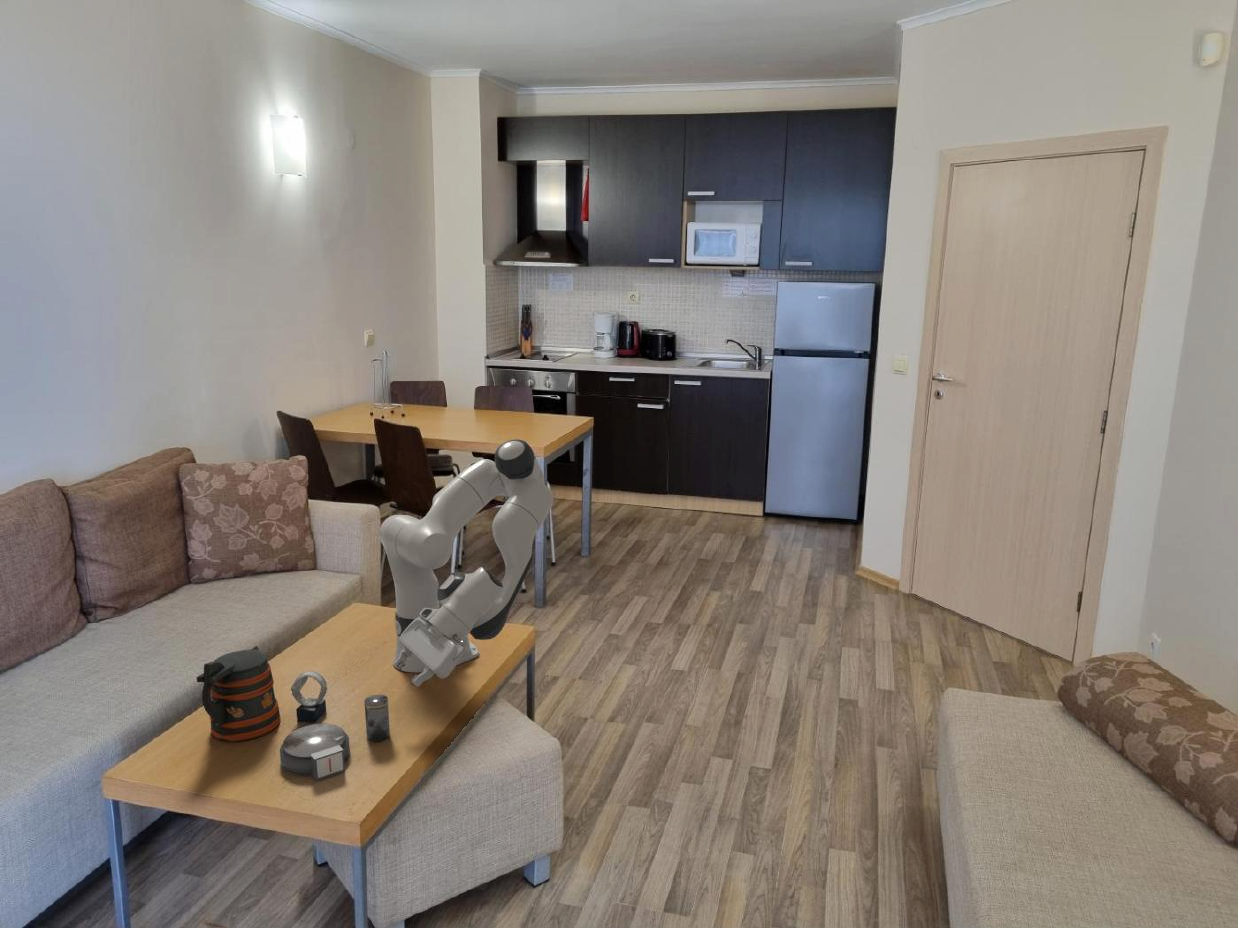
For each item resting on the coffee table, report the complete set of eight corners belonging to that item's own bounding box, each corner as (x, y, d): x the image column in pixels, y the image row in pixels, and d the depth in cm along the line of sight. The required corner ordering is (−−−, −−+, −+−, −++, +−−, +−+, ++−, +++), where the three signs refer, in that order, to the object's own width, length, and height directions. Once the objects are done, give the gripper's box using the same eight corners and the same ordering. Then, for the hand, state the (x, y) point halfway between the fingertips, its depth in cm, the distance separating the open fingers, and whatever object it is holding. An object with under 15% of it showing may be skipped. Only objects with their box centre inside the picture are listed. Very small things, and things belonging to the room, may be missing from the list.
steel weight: (384, 728, 199) (382, 692, 197) (393, 737, 196) (391, 701, 194) (363, 735, 196) (360, 698, 194) (371, 745, 192) (369, 707, 191)
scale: (336, 733, 197) (335, 713, 196) (364, 765, 185) (362, 744, 183) (272, 753, 189) (270, 732, 188) (296, 788, 176) (294, 766, 175)
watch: (301, 709, 208) (298, 666, 206) (333, 712, 207) (330, 669, 204) (289, 720, 203) (285, 677, 200) (321, 723, 201) (318, 679, 199)
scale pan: (333, 721, 196) (333, 717, 195) (354, 745, 186) (354, 741, 186) (275, 738, 188) (275, 735, 188) (294, 764, 178) (293, 761, 178)
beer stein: (245, 756, 188) (236, 671, 183) (184, 750, 190) (174, 665, 186) (292, 713, 206) (286, 634, 202) (236, 707, 209) (228, 629, 204)
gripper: (477, 652, 194) (433, 702, 190) (436, 620, 210) (396, 665, 206) (460, 637, 191) (415, 687, 187) (420, 605, 207) (378, 651, 203)
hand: (405, 675), depth 197 cm, fingers open, 8 cm apart
